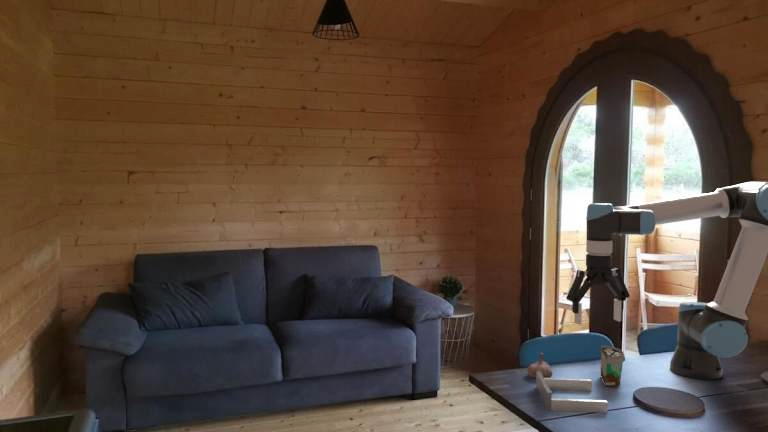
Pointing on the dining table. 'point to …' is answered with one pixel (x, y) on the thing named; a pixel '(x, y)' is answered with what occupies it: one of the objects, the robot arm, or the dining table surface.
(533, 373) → the garlic bulb
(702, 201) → the robot arm
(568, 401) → the rail dock
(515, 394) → the dining table surface
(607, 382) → the food container
